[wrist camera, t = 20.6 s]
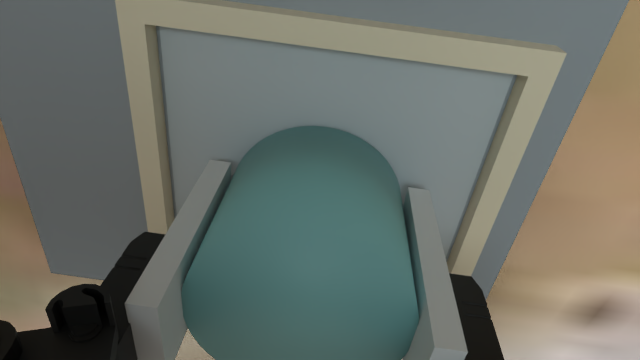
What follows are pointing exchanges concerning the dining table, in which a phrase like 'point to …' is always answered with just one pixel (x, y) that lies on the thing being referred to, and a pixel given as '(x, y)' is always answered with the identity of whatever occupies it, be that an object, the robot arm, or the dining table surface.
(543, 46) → the jig board
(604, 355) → the dining table surface
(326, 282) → the teal egg shape
